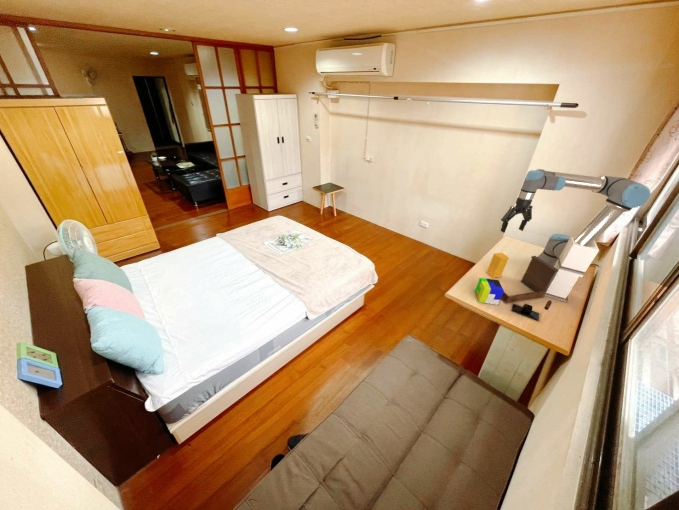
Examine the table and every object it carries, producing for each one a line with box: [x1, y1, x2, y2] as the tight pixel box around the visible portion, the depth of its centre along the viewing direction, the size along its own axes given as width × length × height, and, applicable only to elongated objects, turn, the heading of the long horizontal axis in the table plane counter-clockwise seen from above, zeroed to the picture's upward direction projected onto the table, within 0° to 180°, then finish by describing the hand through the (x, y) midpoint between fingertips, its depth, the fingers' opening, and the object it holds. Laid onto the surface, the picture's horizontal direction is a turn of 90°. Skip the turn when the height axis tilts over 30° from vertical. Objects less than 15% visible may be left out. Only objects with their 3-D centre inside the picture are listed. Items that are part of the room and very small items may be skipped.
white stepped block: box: [544, 235, 600, 303], centre depth 149 cm, size 11×11×35 cm
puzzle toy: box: [474, 277, 505, 306], centre depth 151 cm, size 10×10×10 cm
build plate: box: [511, 303, 540, 322], centre depth 143 cm, size 12×7×5 cm, turn 54°
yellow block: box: [486, 252, 510, 279], centre depth 169 cm, size 6×6×15 cm
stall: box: [500, 255, 559, 304], centre depth 154 cm, size 27×16×19 cm, turn 103°
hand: (511, 230), depth 165 cm, fingers open, 13 cm apart
